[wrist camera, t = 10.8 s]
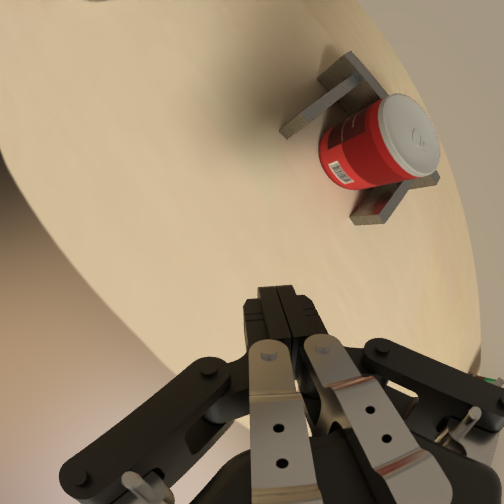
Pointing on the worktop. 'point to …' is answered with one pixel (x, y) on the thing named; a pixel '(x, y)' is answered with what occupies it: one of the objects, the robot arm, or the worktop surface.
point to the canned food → (381, 145)
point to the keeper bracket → (352, 100)
